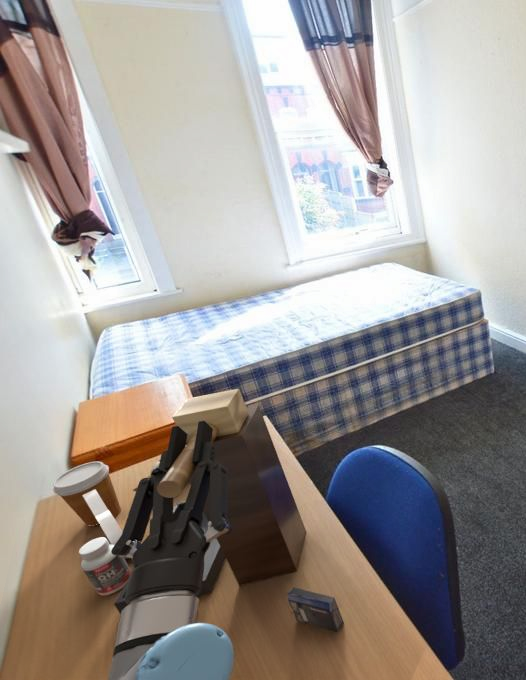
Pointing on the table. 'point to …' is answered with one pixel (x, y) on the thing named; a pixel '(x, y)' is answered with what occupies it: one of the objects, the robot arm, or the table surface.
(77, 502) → the disposable coffee cup
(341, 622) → the mini dv tape
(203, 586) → the tray
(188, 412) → the mallet
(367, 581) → the table surface
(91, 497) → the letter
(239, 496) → the stand
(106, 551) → the pill bottle
